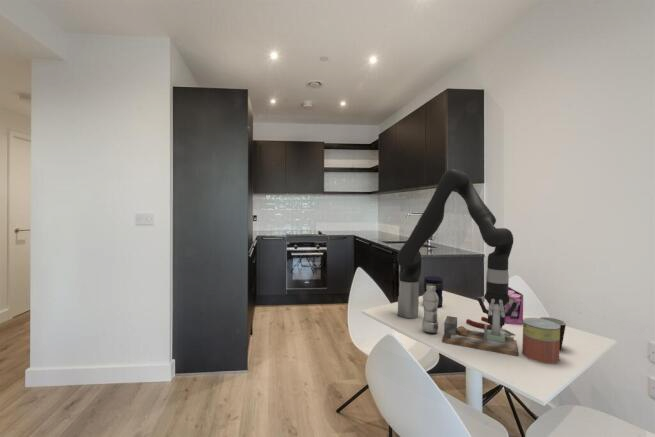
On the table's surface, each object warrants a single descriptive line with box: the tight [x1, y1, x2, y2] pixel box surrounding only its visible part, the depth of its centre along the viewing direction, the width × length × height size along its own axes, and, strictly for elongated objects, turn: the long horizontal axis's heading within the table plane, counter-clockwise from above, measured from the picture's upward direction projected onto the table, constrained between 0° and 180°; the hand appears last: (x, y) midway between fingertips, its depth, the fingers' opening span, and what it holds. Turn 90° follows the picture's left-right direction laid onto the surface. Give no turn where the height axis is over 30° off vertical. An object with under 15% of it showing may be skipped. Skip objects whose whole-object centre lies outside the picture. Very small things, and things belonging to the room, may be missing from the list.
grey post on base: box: [483, 304, 506, 343], centre depth 125 cm, size 7×7×15 cm
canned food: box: [521, 317, 561, 365], centre depth 117 cm, size 11×11×12 cm
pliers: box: [465, 316, 516, 337], centre depth 143 cm, size 12×20×3 cm, turn 22°
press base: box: [441, 315, 519, 357], centre depth 128 cm, size 26×12×8 cm, turn 63°
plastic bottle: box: [421, 284, 439, 334], centre depth 139 cm, size 6×7×20 cm
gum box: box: [504, 286, 524, 325], centre depth 160 cm, size 24×8×14 cm, turn 172°
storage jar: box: [423, 275, 444, 309], centre depth 177 cm, size 10×10×15 cm
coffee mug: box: [539, 316, 567, 351], centre depth 127 cm, size 12×9×10 cm
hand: (496, 325), depth 125 cm, fingers closed on grey post on base, 3 cm apart
